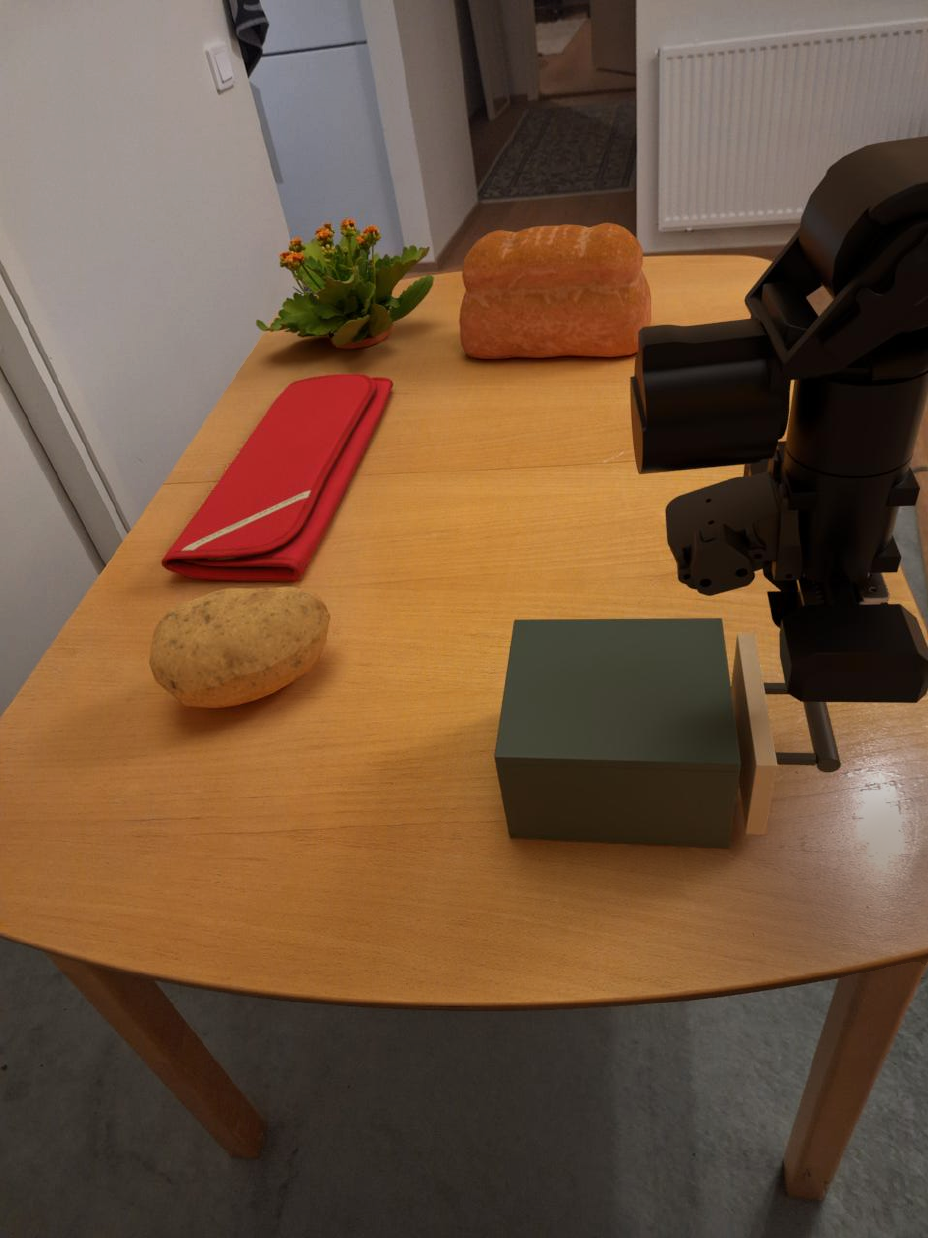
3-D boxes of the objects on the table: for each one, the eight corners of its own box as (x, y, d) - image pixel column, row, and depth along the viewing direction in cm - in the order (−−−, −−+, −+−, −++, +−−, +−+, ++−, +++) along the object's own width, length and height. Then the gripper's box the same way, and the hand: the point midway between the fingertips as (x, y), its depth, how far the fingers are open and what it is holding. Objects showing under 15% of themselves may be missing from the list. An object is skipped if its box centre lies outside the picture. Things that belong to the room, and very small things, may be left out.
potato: (197, 650, 76) (157, 572, 69) (347, 637, 74) (320, 555, 68) (164, 734, 68) (116, 654, 62) (330, 721, 66) (298, 638, 60)
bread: (478, 325, 123) (464, 218, 112) (654, 319, 115) (656, 205, 105) (455, 365, 113) (437, 253, 103) (645, 362, 106) (645, 241, 96)
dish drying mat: (397, 389, 110) (392, 363, 108) (306, 583, 81) (296, 554, 78) (290, 396, 114) (282, 371, 111) (166, 584, 84) (152, 556, 82)
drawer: (806, 703, 60) (821, 632, 55) (835, 838, 51) (856, 768, 47) (565, 700, 63) (559, 633, 58) (556, 825, 55) (548, 759, 50)
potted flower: (349, 299, 139) (323, 188, 127) (470, 307, 128) (453, 187, 117) (259, 364, 124) (220, 245, 112) (387, 379, 113) (358, 249, 102)
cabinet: (713, 704, 62) (722, 617, 56) (729, 849, 53) (741, 763, 47) (525, 702, 65) (513, 619, 59) (509, 838, 56) (493, 757, 50)
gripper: (669, 370, 48) (664, 574, 58) (688, 570, 34) (677, 789, 45) (873, 356, 45) (830, 570, 56) (978, 564, 32) (896, 796, 42)
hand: (805, 667), depth 50 cm, fingers closed
